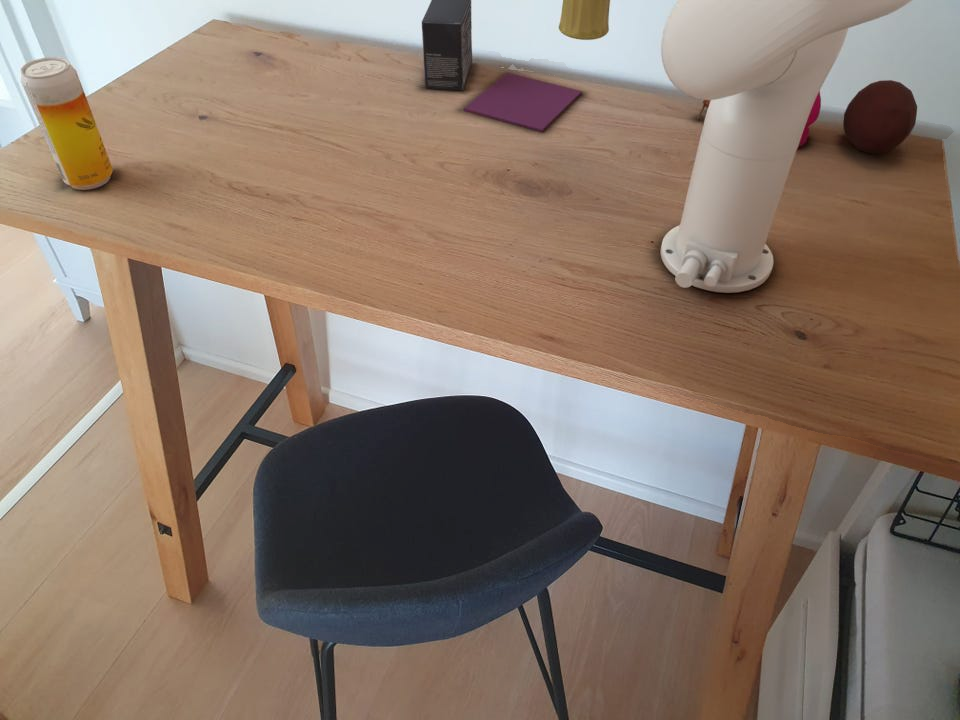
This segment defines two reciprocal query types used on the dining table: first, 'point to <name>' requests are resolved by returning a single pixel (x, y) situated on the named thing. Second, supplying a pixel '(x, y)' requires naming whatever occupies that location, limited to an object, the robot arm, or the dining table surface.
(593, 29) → the vase
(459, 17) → the small box
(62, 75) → the beer can
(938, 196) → the dining table surface
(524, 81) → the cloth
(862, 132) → the dark brown egg
